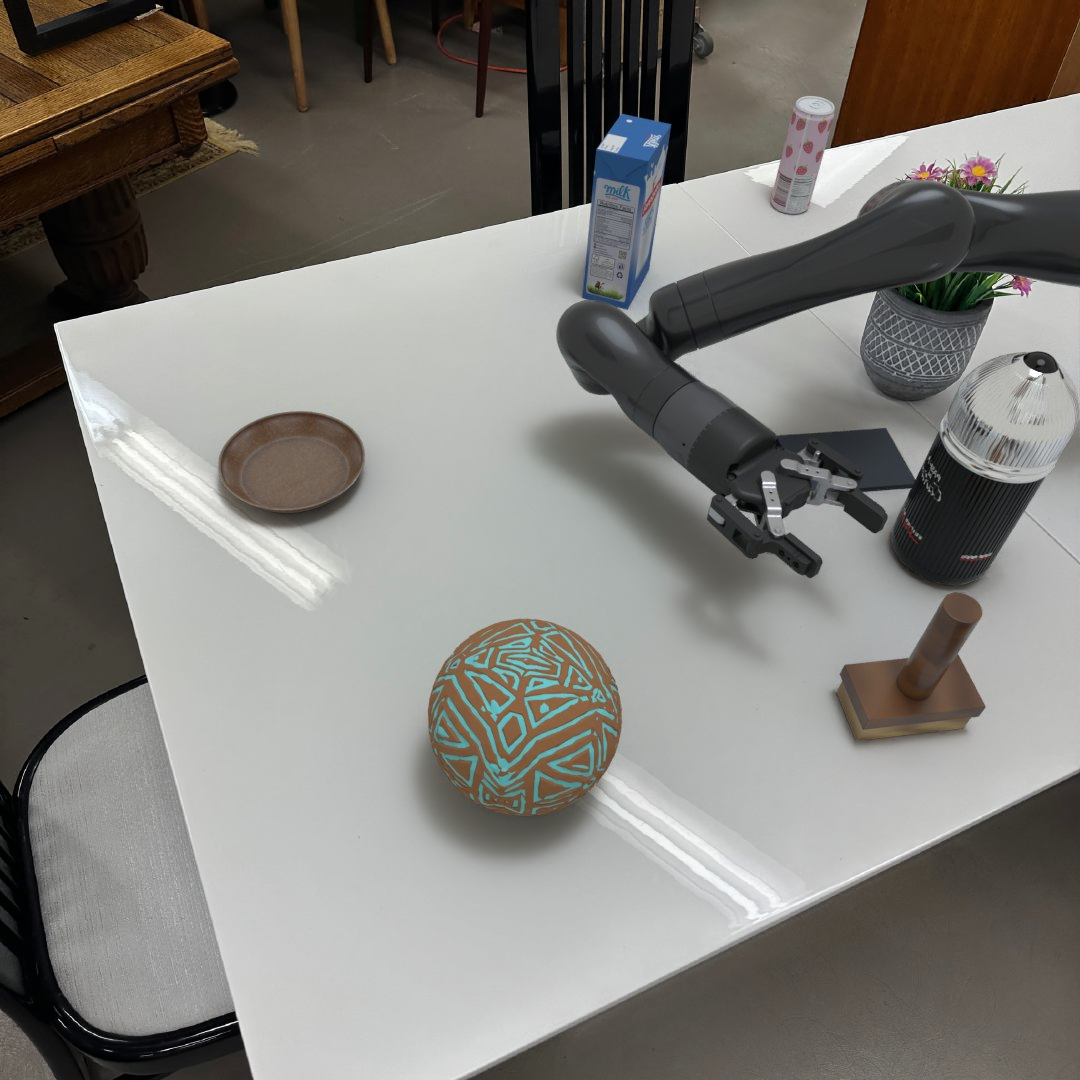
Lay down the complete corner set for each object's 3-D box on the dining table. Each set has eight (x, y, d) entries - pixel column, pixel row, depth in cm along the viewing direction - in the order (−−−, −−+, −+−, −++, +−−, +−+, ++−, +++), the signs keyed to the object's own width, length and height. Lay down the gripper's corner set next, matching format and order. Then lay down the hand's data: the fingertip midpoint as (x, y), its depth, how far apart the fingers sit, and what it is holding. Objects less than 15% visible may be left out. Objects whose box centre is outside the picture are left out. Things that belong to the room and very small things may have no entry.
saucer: (354, 419, 107) (352, 400, 105) (378, 512, 98) (376, 494, 96) (217, 440, 104) (212, 421, 102) (229, 540, 95) (224, 521, 93)
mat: (884, 431, 110) (886, 427, 110) (916, 487, 104) (917, 483, 104) (767, 439, 108) (768, 435, 108) (793, 497, 103) (794, 493, 102)
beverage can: (809, 198, 145) (837, 98, 133) (807, 217, 141) (836, 116, 130) (771, 192, 145) (795, 92, 134) (768, 211, 142) (793, 110, 130)
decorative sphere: (407, 824, 76) (395, 726, 65) (460, 670, 86) (457, 562, 75) (592, 869, 75) (613, 776, 63) (625, 707, 84) (647, 602, 73)
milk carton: (627, 309, 124) (648, 160, 109) (582, 298, 125) (596, 149, 110) (649, 269, 130) (671, 123, 115) (605, 259, 131) (621, 113, 116)
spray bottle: (910, 596, 94) (1017, 400, 76) (870, 519, 101) (960, 321, 82) (1006, 587, 96) (1135, 391, 77) (961, 511, 102) (1069, 315, 84)
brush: (941, 677, 88) (1009, 573, 77) (968, 731, 84) (1043, 630, 73) (831, 689, 87) (884, 585, 75) (854, 744, 83) (913, 643, 72)
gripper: (664, 439, 83) (807, 556, 75) (775, 379, 89) (918, 480, 81) (652, 500, 89) (783, 614, 81) (757, 439, 95) (889, 539, 87)
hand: (851, 547), depth 81 cm, fingers open, 8 cm apart
